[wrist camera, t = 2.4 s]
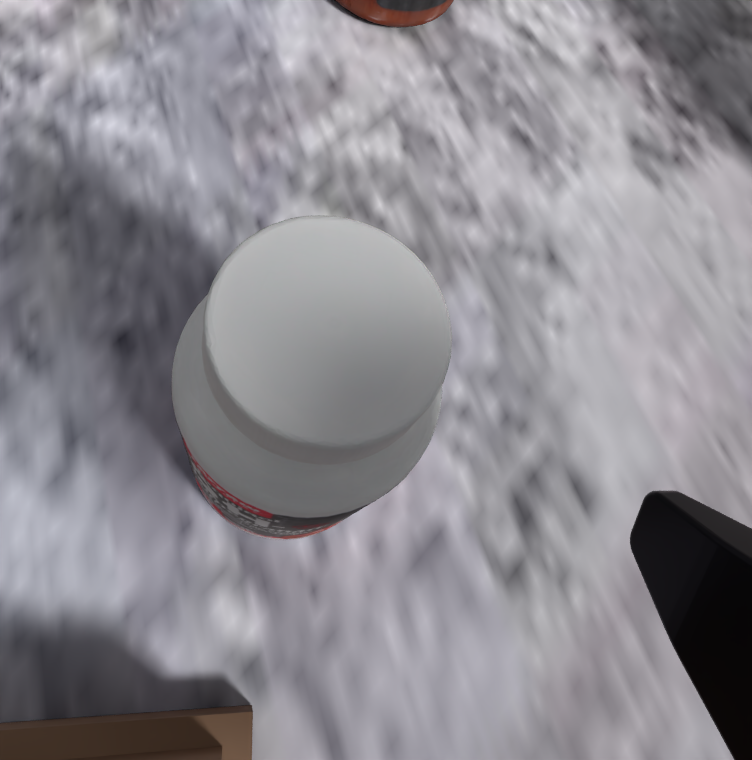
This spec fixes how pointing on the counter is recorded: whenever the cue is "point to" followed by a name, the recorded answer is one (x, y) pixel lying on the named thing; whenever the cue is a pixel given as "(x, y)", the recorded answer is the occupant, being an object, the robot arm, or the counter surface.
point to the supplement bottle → (397, 11)
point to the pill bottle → (310, 375)
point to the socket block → (134, 736)
